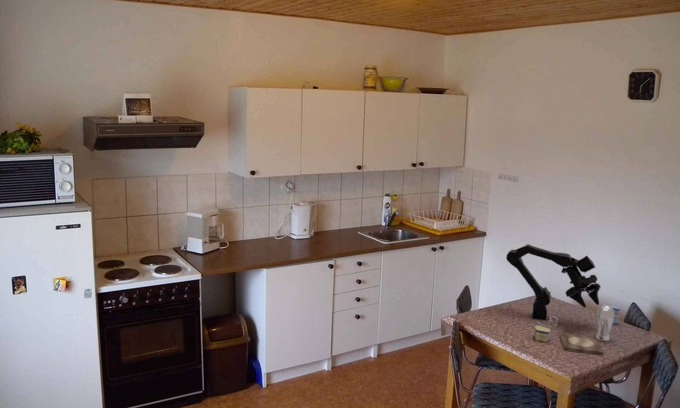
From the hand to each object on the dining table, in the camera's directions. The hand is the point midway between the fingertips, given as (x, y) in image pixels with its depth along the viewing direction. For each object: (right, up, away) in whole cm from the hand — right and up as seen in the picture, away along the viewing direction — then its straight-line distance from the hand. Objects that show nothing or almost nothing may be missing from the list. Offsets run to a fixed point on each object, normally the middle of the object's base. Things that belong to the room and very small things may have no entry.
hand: (591, 305), depth 273 cm
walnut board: (-11, -16, -14) cm, 24 cm away
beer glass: (+3, -15, -5) cm, 16 cm away
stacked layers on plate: (-27, -15, -8) cm, 32 cm away
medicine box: (+16, -12, +17) cm, 26 cm away
